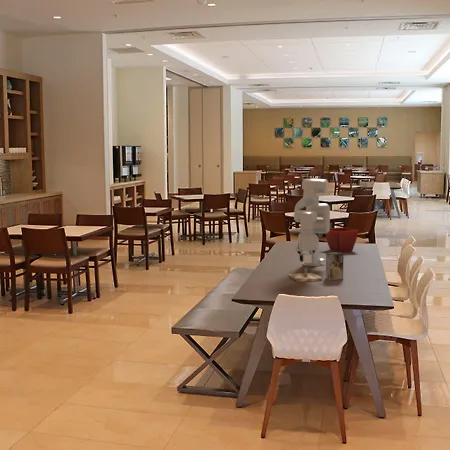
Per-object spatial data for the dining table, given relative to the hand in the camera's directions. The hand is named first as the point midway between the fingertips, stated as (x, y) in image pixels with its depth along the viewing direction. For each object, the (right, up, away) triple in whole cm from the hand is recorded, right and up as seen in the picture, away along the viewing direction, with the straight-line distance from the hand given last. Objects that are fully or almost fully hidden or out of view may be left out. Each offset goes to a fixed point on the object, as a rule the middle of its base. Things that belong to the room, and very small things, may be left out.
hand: (305, 260), depth 383 cm
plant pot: (+40, +2, +99) cm, 107 cm away
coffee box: (+18, -11, +1) cm, 21 cm away
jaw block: (0, -1, 0) cm, 1 cm away
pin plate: (0, -11, +2) cm, 11 cm away
